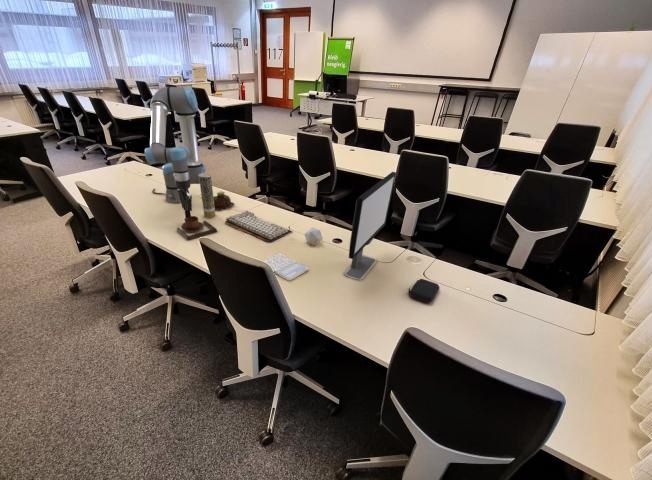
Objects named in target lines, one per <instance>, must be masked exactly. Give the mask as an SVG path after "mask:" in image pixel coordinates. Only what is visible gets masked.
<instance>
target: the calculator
mask: <svg viewBox="0 0 652 480" xmlns="http://www.w3.org/2000/svg"><path fill="white" fill-rule="evenodd" d="M262 261H264V262H266V263H268V264H269V265H270V266H271V267H272V269H273V270H274V272H275V273H274V272H273V273H274V274H276V275H277V276H279V277H281V278H283V279H285V280H286V281H292V280H295V279H296V278H297V277H299V276H301V275H303V274H304V273H306V272H308V271H309V268H308V266H306V265H304V264H302V263H300V262H298V261H296V260H294V259H292V258H290V257H288V256H287V255H284V254H282V253H279V252H277V253H276V254H273V255H271V256H269V257H266V258H265V259H262Z"/></svg>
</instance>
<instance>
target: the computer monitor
mask: <svg viewBox="0 0 652 480" xmlns="http://www.w3.org/2000/svg"><path fill="white" fill-rule="evenodd" d="M396 176H397V172H395V171H391V172H390V173H389V174H388V175H386V176H385V177H383V178H382V179H381V180H379V181H378V182H377V183H375V184H374V185H373V186H372V187H370V188H369V189H367V190H366V191H364V193H362V194H360V196H358V197H357V199H356V201H355V208H354V213H353V220H352V227H351V234H350V239H349V249H348V259H351V265H350V267H349V268H348V269H347V270H346V271H345V272H344V275H345V277H347V278H350V279H353V280H356V281H361V280H363V279H364V278H365V276H366V275H367V274H368V273H369V272H370V271H371V269H372V268H373V267H374V265H375V264H376V263H377V259H376V258H374V257H370V256H367V255H363V254H364V253H363V252H364V248H365V247H366V246H368V245H370V244H371V243H372V241H373V240H374V239H375V237H376V236H377V234H379V232H380V231H381V230H382V229H383V228H384V227H385V226H386V224H387V218H388V214H389V209H390V204H391V199H392V196H393V191H394V186H395V181H396Z"/></svg>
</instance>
